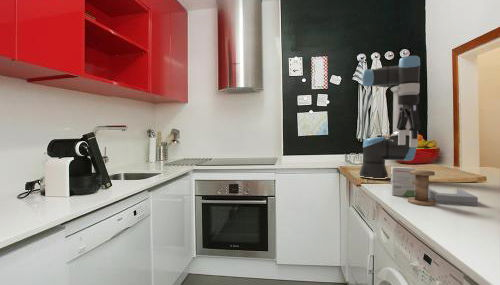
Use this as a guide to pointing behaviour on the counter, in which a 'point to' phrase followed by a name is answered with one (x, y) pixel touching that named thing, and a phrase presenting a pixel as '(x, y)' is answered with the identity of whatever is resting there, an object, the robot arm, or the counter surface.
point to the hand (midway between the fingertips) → (407, 146)
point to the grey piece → (453, 197)
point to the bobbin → (421, 188)
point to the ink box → (402, 181)
